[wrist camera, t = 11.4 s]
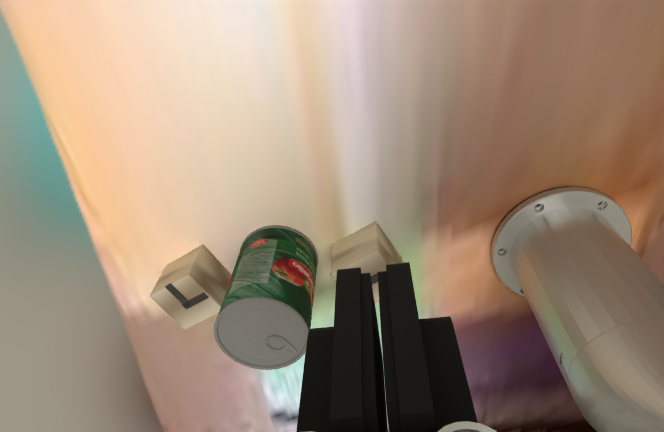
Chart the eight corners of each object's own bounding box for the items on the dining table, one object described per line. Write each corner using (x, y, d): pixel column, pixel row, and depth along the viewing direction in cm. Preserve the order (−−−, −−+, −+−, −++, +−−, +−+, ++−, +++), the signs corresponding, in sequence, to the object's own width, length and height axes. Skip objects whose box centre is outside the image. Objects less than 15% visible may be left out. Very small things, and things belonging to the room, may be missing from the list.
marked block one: (401, 256, 48) (406, 289, 44) (359, 277, 50) (359, 311, 46) (375, 220, 46) (377, 251, 42) (332, 243, 48) (330, 275, 44)
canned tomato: (225, 259, 49) (194, 337, 40) (271, 210, 46) (250, 282, 37) (285, 300, 52) (270, 383, 42) (334, 256, 49) (329, 334, 39)
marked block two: (234, 277, 51) (223, 310, 46) (198, 296, 52) (184, 330, 48) (202, 243, 49) (187, 274, 44) (166, 264, 50) (148, 296, 46)
